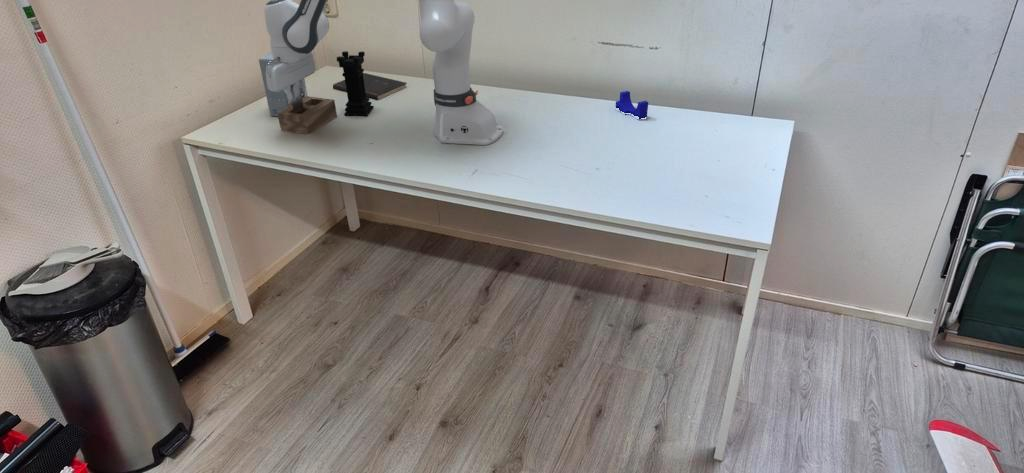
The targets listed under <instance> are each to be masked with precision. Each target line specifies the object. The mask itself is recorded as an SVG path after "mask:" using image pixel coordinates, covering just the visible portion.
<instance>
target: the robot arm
mask: <svg viewBox="0 0 1024 473" xmlns="http://www.w3.org/2000/svg"><path fill="white" fill-rule="evenodd" d="M299 2H300V3H297V2H295V1H293V0H269V1H268V2H267V3H266V4H265V5H264V8H263V9H264V10H263V11H264V13H263V14H264V20H265V27H266V30H267V33H268V35H269V39H270V40H269V41H270V42H269V45H270V49H271V51H272V55H273V60H271V61H269V62H268V64H267V66H266V80H267V86H268V89H269V90H270V91H274V92H279V91H281V90H283V91H284V92H285V93H286V94H287V98H288V99H293V98H294V97H295V96H294V93H292V92H291V91H290V89H291V87H290V86H291V85H293V84H295V83H296V82H297V81H299V85H300V90H301V94H302V93H304V89H303V87H304V82H305V83H306V80H304V79H306V78H309V77H310V76H312V75H313V74H315V72H316V62H315V58H314V55H313V53H312V52H313V50H314V49H315V48H316V46H317V45H318V44H319V43H320V42H321V41H322V40H324V39H323V38H325V37H326V35H327V34H328V32H329V30H330V24H329V20H328V18H327V16H326V14H325V13H324V9H325V7H326V5H327V2H328V0H300V1H299ZM418 8H419V17H420V26H419V31H418V32H419V33H418V34H419V40H420V41H421V44H422V45H423V46H424V48H426V49H427V50H429V51H431V52H433V53H435V55H434V59H433V62H432V73H433V85H434V86H433V87H434V88H433V101H434V106H435V118H434V125H433V130H432V133H433V135H434V136H435V137H437V138H438V140H439V142H440V143H443V144H456V145H457V144H459V145H460V144H462V145H478V146H479V145H481V146H487V145H490V144H493V143H495V142H496V141H497V140H499V139H500V138H501V136H502V135H503V133H504V127H503V126H502V125H499V124H497V121H496V118H495V117H496V116H495V114H494V112H492V111H491V110H490V109H489V108H487V106H485V105H484V104H482V103H481V102H480V101H478V100H477V95H478V94H479V93H478V92H479V91H478V90H476V91H475V92H474V90H473V88H472V87H471V78H470V77H471V75H470V58H471V57H470V56H471V48H472V47H471V46H472V39H473V36H472V35H473V29H474V24H475V18H476V17H475V12H474V10H473V8H472V7H471V6H470V5H469V4H468V3H466V2H464V1H457V0H418Z"/></svg>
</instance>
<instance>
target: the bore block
mask: <svg viewBox="0 0 1024 473" xmlns="http://www.w3.org/2000/svg"><path fill="white" fill-rule="evenodd" d="M302 100H303V105H304V108H303V109H301V110H293V109H292V105H290V106H289V107H287V108H285V109H283V110H282V111H280V112H278V113H277V114H278V116H277V119H278V123H279V127H280V131H284V132H290V133H295V134H296V133H297V134H303V135H311V134H312V133H314V132H316V131H317V130H318V129H320V128H322V127H323V126H325V125H326V124H328V123H330V122H331V121H332V120H334V119H336V118H338V113H337V112H338V111H337V108H336V102H335V99H333V98H332V99H331V98H323V97H315V96H310V95H309V96H306V97H305V98H303V99H302Z"/></svg>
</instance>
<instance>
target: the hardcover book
mask: <svg viewBox="0 0 1024 473" xmlns="http://www.w3.org/2000/svg"><path fill="white" fill-rule="evenodd" d="M363 79H364V86H365V92H366V98H369V99H370V100H371V99H372V100H374V101H379V100H380V99H383V98H385V97H388V96H390V95H393V94H394V93H397V92H399V91H401V90H403V88H404V89H406V88H407V84H408V83H407V82H405V81H401V80H396V79H392V78H387V77H383V76H379V75H374V74H370V73H366V72H363ZM332 89H333V90H335V91H339V92H343V93H347V90H346V84H345V79H343V80H340V81H339V82H338V81H337V82H335V83H333V84H332Z"/></svg>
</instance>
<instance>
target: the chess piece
mask: <svg viewBox="0 0 1024 473" xmlns="http://www.w3.org/2000/svg"><path fill="white" fill-rule="evenodd" d="M341 54H342V56H341V55H340V56H336V62H337V63H338V65H339V68H342V71H343V72H342V73H341V74H342V77H344V78H343V79H344V80H345V84H346V90H347V92H346V94H347V96H346V97H347V102H346V103H345V108H344V111H345V112H344V114H343V116H344V117H361V118H362V117H365V118H366V117H369V115H370V113H371V112H372V111H373V110H374V107H375V106H374V105H372V104H373V103H372V101H370V100H371V99H370V98H366V92H365V86H364V79H363V73H365V70H364V69H365V68H363V67H362V66H363V65H362V64H363V63H364V62H365V58H364V57H365V56H366V55H365V51H358V53H357V54H358V55H357V54H356V55H355V54H353V55H350V54H349V51H345V50H344V51H342V52H341Z"/></svg>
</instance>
